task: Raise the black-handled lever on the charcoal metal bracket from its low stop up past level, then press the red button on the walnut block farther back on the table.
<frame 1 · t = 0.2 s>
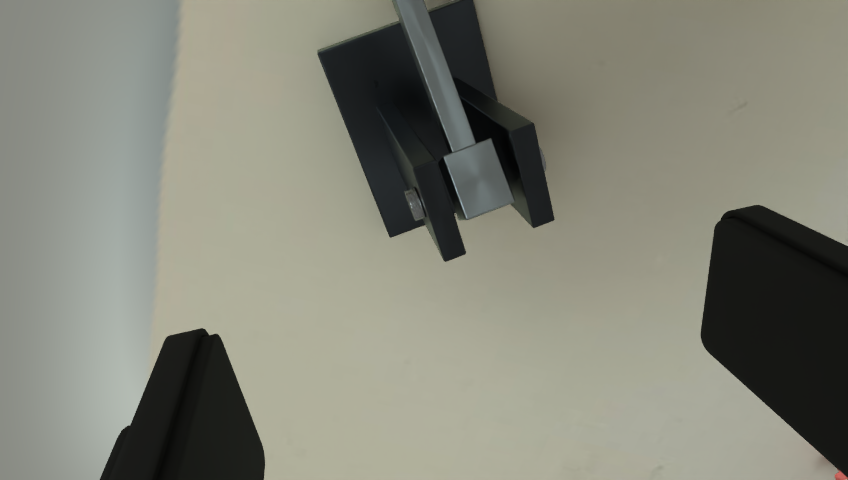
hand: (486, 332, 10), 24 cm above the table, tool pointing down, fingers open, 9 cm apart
bracket: (423, 123, 32), on the table
cat figurine: (833, 444, 57), on the table
lever: (432, 67, 22), point 9 cm above the table, hinge at -25.0°
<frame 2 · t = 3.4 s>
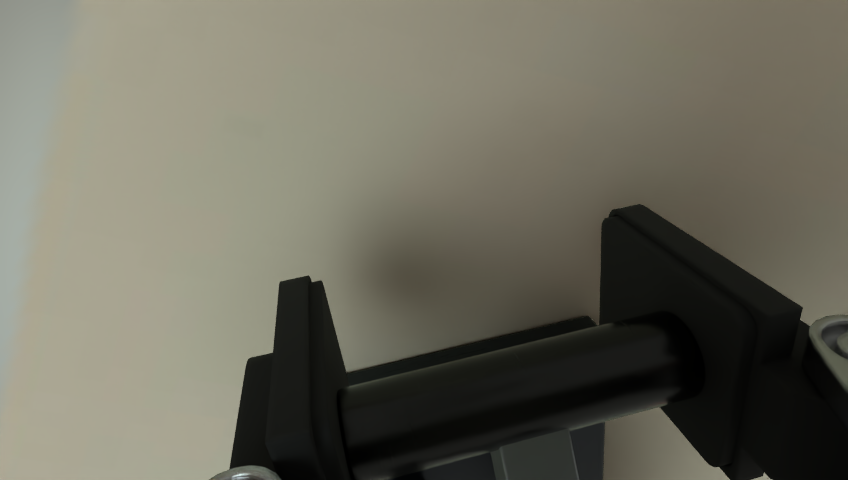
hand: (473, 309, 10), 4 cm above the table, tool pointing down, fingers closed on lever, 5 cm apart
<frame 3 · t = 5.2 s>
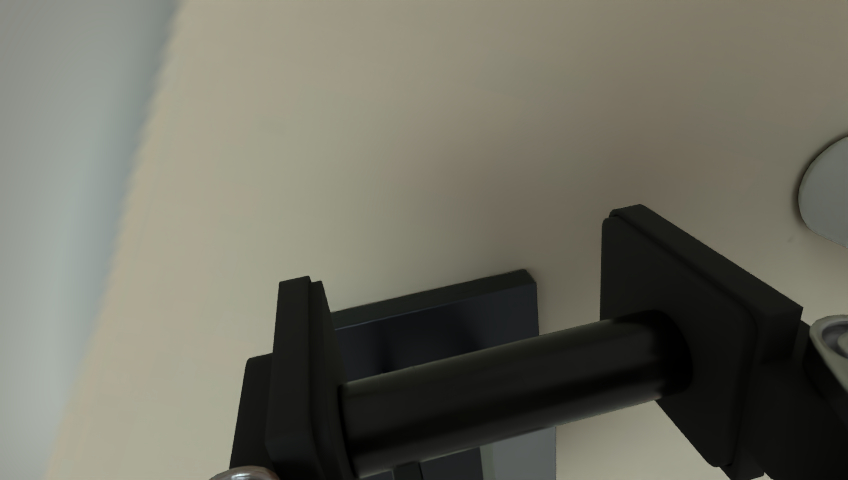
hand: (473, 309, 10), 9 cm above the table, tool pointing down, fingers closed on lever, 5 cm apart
beverage can: (835, 179, 23), on the table
bracket: (438, 403, 24), on the table
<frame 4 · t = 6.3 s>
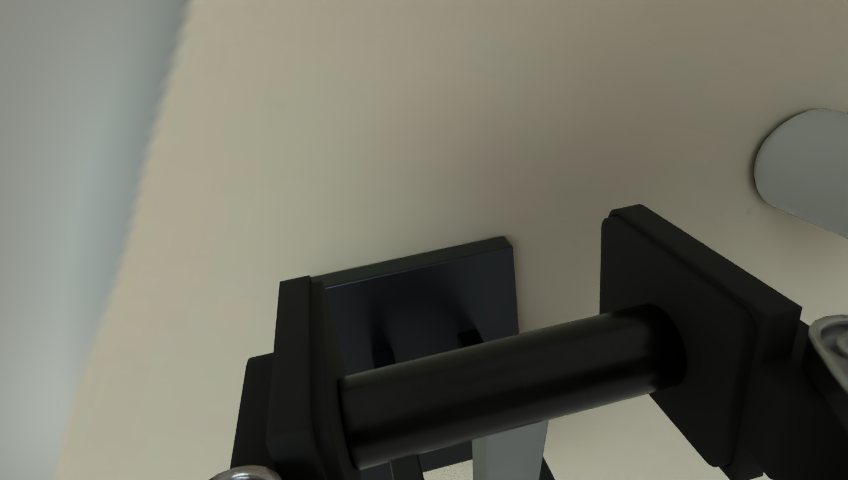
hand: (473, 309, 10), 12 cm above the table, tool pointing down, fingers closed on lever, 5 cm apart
beverage can: (788, 155, 25), on the table
bracket: (425, 362, 26), on the table
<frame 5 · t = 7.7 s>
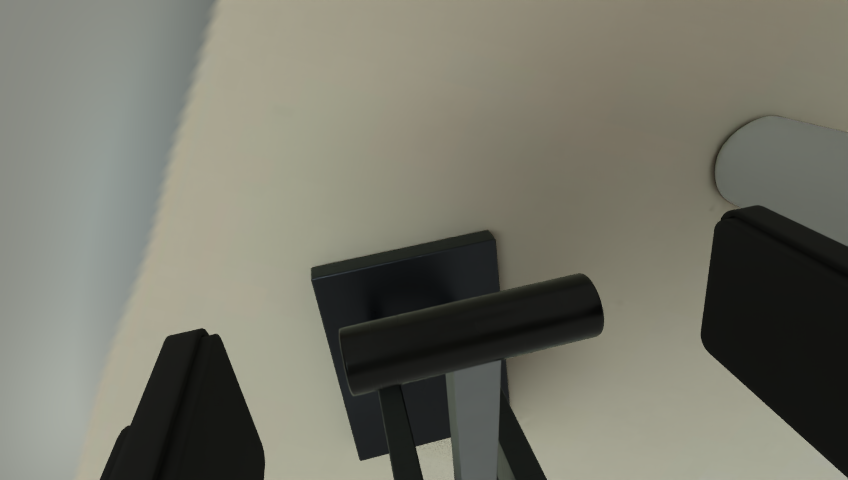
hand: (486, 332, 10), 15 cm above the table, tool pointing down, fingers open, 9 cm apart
beverage can: (746, 157, 28), on the table
bracket: (418, 345, 28), on the table
lever: (474, 458, 15), point 12 cm above the table, hinge at 16.0°
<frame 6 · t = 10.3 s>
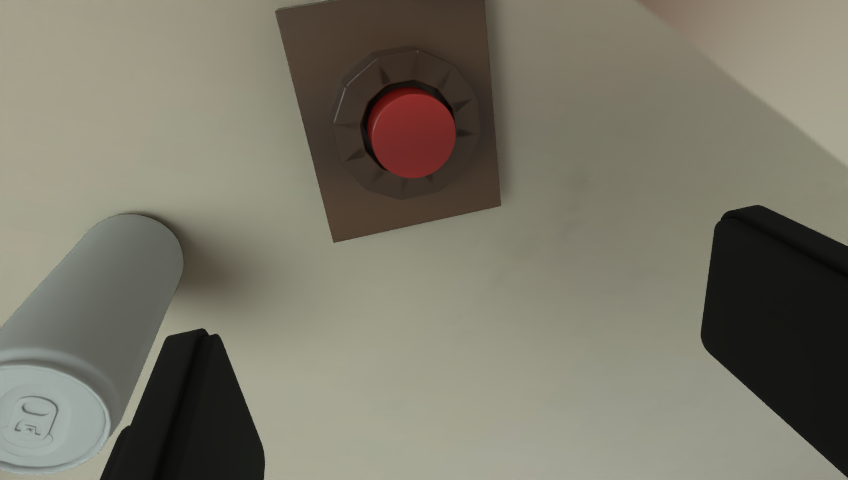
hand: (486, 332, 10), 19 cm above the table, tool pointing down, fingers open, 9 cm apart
button: (410, 132, 23), point 4 cm above the table, slide at 0.1 cm
beverage can: (138, 250, 27), on the table
button block: (394, 110, 27), on the table
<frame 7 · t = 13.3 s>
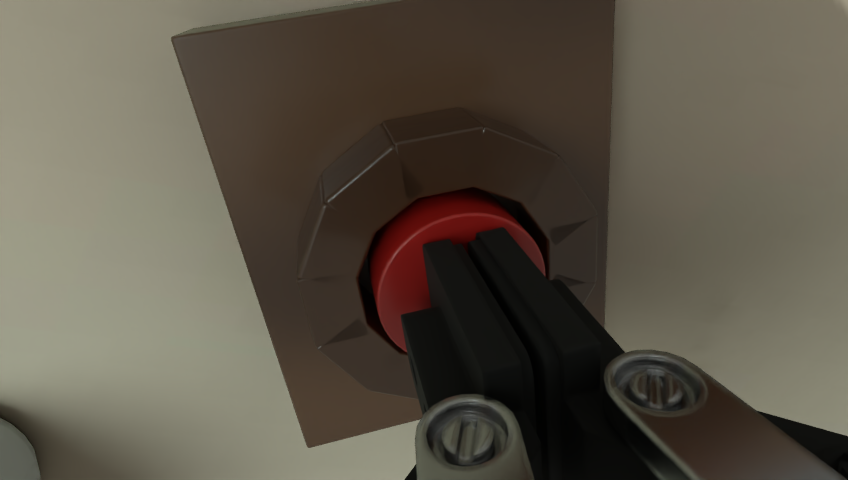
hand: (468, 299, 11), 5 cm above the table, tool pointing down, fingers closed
button: (453, 273, 12), point 4 cm above the table, slide at -0.7 cm, touching gripper
button block: (420, 211, 15), on the table
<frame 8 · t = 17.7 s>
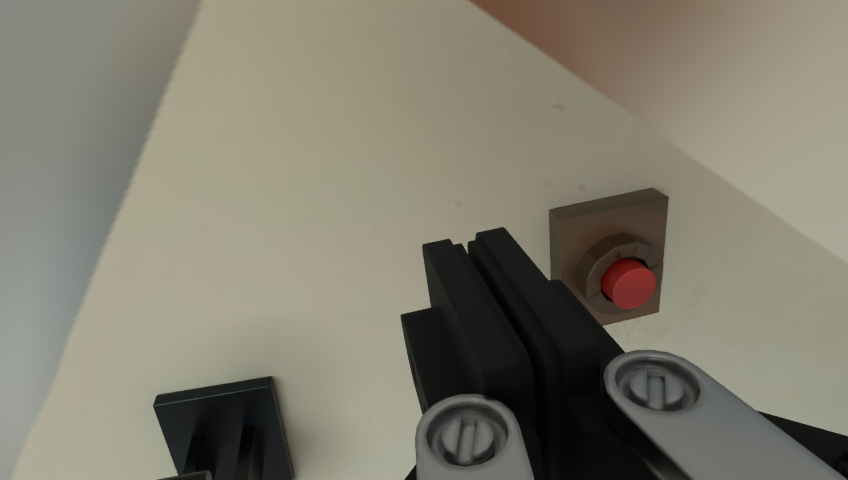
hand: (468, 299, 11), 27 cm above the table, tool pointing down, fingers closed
button: (628, 283, 41), point 4 cm above the table, slide at 0.1 cm
bracket: (230, 439, 45), on the table
button block: (600, 257, 45), on the table
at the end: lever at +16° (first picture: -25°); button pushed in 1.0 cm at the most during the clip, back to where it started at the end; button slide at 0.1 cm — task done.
